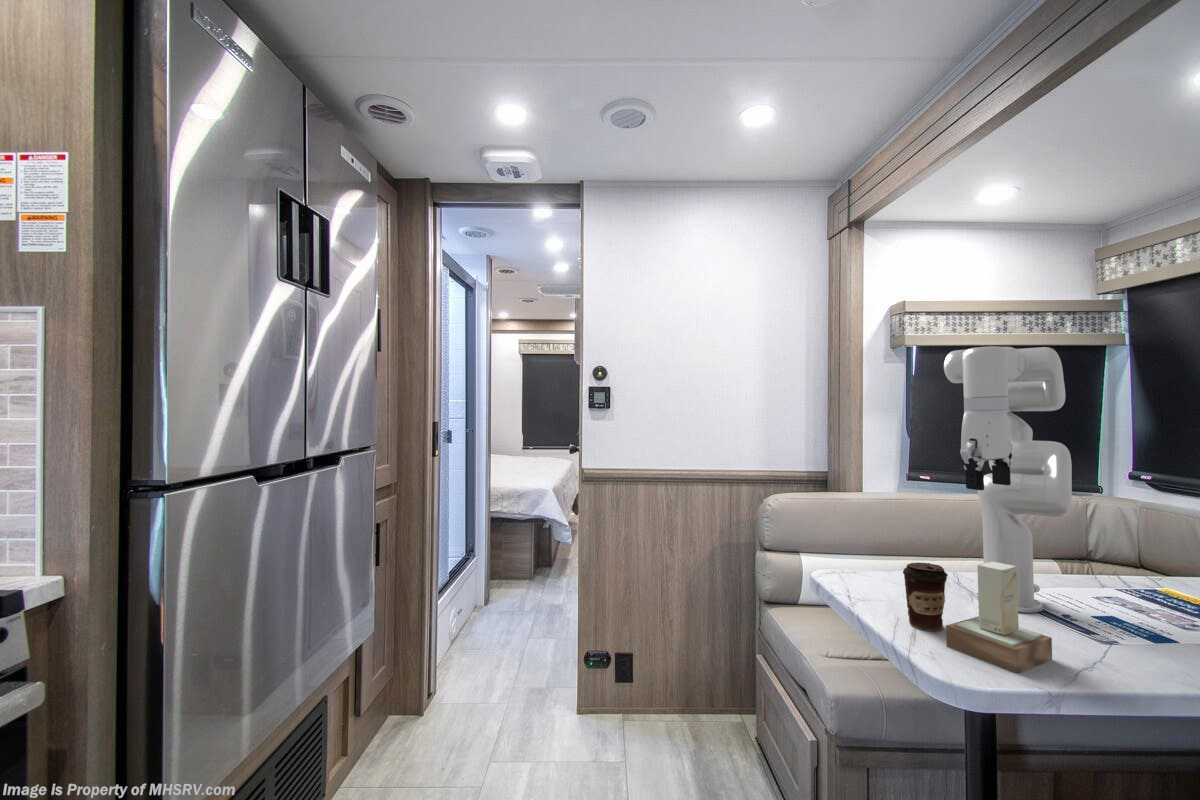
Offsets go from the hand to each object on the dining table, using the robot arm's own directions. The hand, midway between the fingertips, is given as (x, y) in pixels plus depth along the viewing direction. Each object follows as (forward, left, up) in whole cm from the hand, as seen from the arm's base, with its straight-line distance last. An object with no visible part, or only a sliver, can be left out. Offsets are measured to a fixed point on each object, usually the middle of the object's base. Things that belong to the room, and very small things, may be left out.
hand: (988, 486), depth 109 cm
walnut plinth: (+8, +5, -31) cm, 32 cm away
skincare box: (+8, +5, -26) cm, 28 cm away
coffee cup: (+8, -9, -31) cm, 33 cm away
